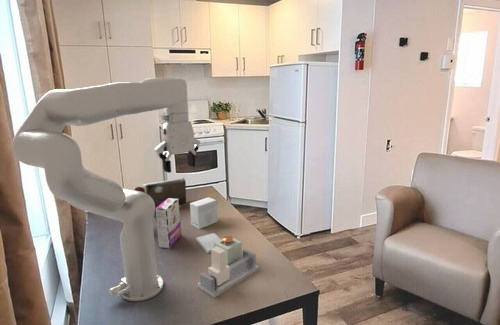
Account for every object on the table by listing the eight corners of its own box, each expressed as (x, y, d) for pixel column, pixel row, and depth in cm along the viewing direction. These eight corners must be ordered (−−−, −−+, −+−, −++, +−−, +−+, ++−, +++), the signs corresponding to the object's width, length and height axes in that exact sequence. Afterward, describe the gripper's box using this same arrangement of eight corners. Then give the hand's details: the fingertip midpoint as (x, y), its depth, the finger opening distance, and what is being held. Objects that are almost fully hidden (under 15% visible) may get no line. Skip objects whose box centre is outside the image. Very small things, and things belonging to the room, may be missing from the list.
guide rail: (214, 297, 96) (214, 282, 95) (197, 286, 101) (196, 271, 100) (259, 269, 110) (259, 255, 109) (242, 260, 116) (241, 247, 114)
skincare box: (209, 217, 152) (208, 196, 149) (218, 221, 147) (217, 200, 145) (190, 224, 145) (189, 202, 142) (199, 229, 140) (198, 206, 137)
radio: (185, 200, 173) (183, 173, 169) (192, 205, 166) (191, 177, 163) (141, 210, 160) (138, 181, 156) (147, 216, 153) (144, 186, 150)
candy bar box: (170, 234, 135) (167, 197, 131) (181, 235, 134) (179, 198, 130) (157, 248, 125) (154, 208, 121) (170, 249, 124) (167, 209, 120)
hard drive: (227, 245, 124) (214, 232, 135) (207, 251, 120) (195, 237, 131) (227, 249, 125) (214, 236, 135) (207, 255, 121) (196, 240, 131)
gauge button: (227, 259, 113) (227, 241, 112) (220, 255, 116) (220, 238, 114) (235, 255, 116) (234, 238, 114) (228, 252, 118) (227, 234, 117)
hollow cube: (227, 267, 111) (227, 249, 110) (214, 260, 116) (213, 242, 114) (242, 259, 116) (241, 241, 115) (228, 252, 121) (228, 235, 119)
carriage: (218, 286, 99) (217, 255, 97) (208, 280, 102) (207, 250, 99) (229, 278, 103) (229, 249, 100) (220, 273, 106) (219, 244, 103)
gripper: (159, 121, 97) (164, 176, 101) (204, 116, 109) (206, 165, 114) (146, 119, 102) (151, 172, 106) (191, 114, 114) (193, 162, 119)
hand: (179, 168), depth 110 cm, fingers open, 9 cm apart
